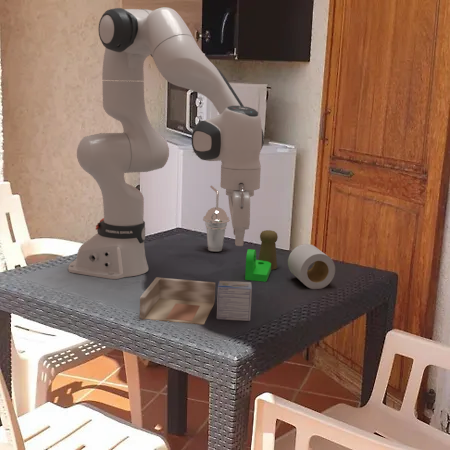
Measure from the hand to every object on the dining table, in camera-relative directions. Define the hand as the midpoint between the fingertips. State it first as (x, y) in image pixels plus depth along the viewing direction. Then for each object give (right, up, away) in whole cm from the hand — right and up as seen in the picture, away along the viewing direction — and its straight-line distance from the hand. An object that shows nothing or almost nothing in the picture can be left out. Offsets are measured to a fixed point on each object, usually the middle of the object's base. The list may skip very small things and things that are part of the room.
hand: (238, 240), depth 152 cm
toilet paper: (+21, -13, +33) cm, 41 cm away
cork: (+10, -9, +47) cm, 49 cm away
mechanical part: (+7, -11, +39) cm, 41 cm away
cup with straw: (-6, -5, +63) cm, 63 cm away
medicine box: (-1, -19, +5) cm, 20 cm away
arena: (-14, -18, +8) cm, 24 cm away
